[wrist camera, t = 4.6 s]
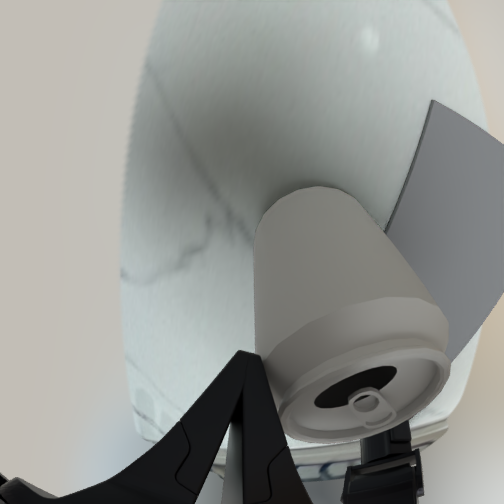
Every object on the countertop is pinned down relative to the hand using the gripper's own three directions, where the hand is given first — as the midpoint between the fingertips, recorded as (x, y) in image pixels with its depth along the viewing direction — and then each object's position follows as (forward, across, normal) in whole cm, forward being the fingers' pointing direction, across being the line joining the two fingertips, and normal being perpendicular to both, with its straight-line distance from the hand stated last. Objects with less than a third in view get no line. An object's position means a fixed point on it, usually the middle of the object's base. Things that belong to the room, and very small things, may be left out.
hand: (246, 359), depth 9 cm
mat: (+11, -14, -1) cm, 18 cm away
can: (+11, -3, 0) cm, 11 cm away
